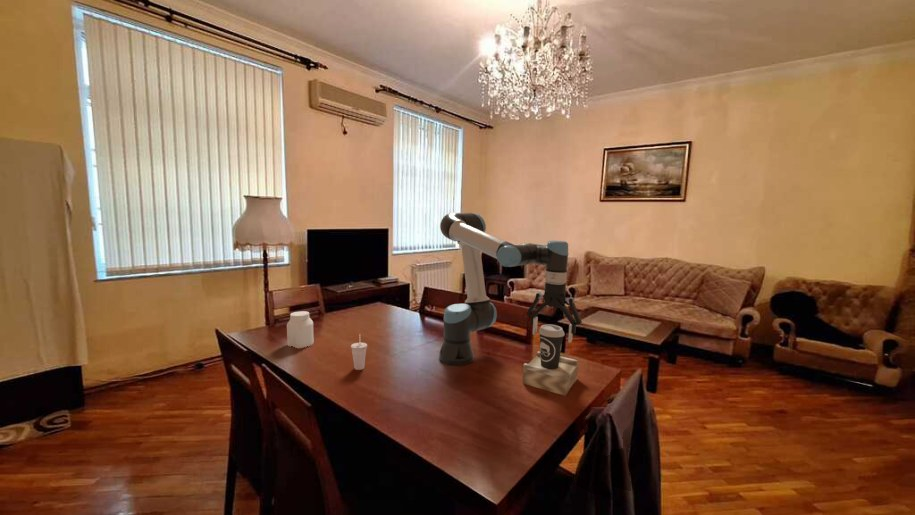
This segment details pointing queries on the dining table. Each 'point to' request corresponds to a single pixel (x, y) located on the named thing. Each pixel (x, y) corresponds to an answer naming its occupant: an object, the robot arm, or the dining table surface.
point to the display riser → (551, 375)
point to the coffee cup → (550, 345)
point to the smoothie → (359, 354)
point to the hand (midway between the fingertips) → (551, 337)
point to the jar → (300, 330)
